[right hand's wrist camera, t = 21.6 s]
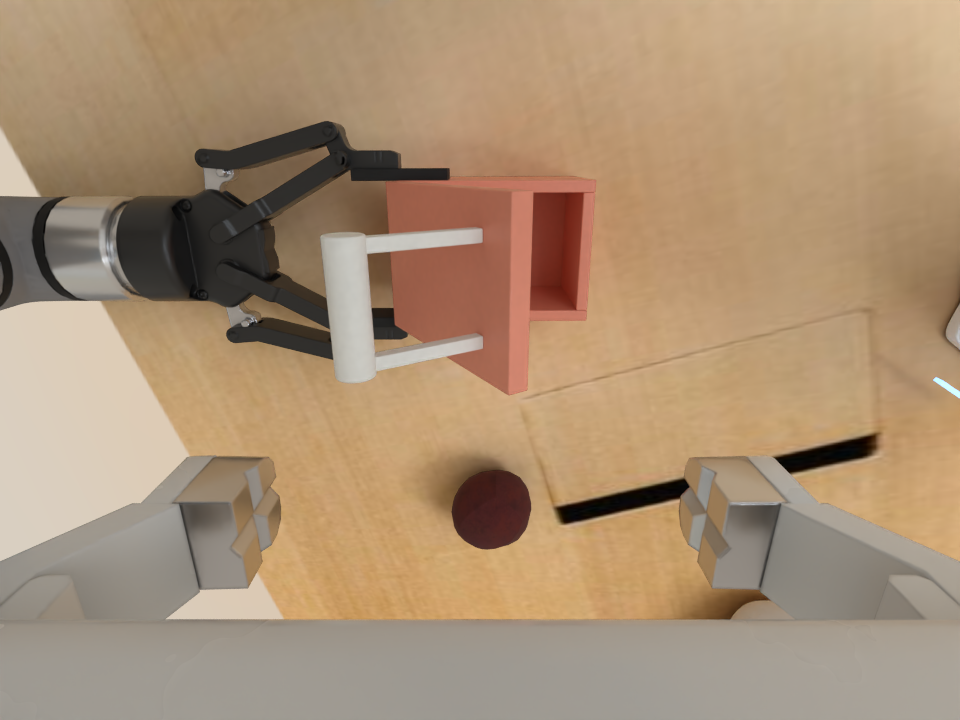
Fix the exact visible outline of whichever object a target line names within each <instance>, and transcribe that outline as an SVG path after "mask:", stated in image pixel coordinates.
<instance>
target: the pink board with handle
mask: <svg viewBox="0 0 960 720" xmlns="http://www.w3.org/2000/svg"><path fill="white" fill-rule="evenodd" d="M386 194H387V210H388V225H389V234H379V235H366V236H365V234H363V233H359V232H336V233H327V234H323V235H321V236H320V242H321V251H322V260H323V270H324V279H325V288H326V297H327V306H328V315H329V324H330V333H331V342H332V351H333V360H334V369H335V377H336V379H337V380H338V381H340V382H343V383H361V382H365V381H368V380H371V379H373V378H374V377H375V376H376V374H377V371H380V370H385V369H389V368H394V367H399V366H404V365H408V364H413V363H418V362H423V361H427V360H432V359H437V358H441V357H447V358H449V359H451V360H452V361H454V362H456V363H457V364H459V365H460V366H462V367H464V368H465V369H467V370H468V371H470V372H472V373H473V374H475V375H477V376H478V377H480V378H481V379H483V380H485V381H486V382H488V383H489V384H491V385H493V386H494V387H496V388H498V389H499V390H501V391H502V392H504V393H506V394H507V395H512V394H515V393H519V392H523V391H526V390H527V385H528V352H529V319H530V286H531V253H532V220H533V191H532V190H520V189H506V188H492V187H478V186H463V185H449V184H435V183H421V182H407V181H387V182H386ZM383 252H390V256H391V272H392V288H393V303H394V319H395V325H396V326H397V327H399V328H401V329H402V330H404V331H405V332H407V333H409V334H410V335H412V336H414V337H415V338H417V339H418V340H420V341H422V342H423V343H422V344H417V345H412V346H407V347H401V348H396V349H391V350H386V351H381V352H376V353H375V346H374V333H373V321H372V308H371V296H370V283H369V271H368V258H367V254H372V253H383Z"/></svg>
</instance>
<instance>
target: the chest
mask: <svg viewBox="0 0 960 720" xmlns="http://www.w3.org/2000/svg"><path fill="white" fill-rule="evenodd" d="M398 181H407V182H421V183H435V184H449V185H463V186H478V187H492V188H506V189H520V190H532V191H533V220H532V253H531V286H530V319H529V321H585V320H586V315H587V301H588V286H589V272H590V258H591V244H592V229H593V215H594V201H595V193H594V192H595V188H596V180H592V179H586V178H581V177H575V176H548V177H450V179H449V180H398Z"/></svg>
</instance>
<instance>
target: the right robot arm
mask: <svg viewBox="0 0 960 720" xmlns="http://www.w3.org/2000/svg"><path fill="white" fill-rule="evenodd" d="M946 337H947V339H948V340H949V341H950V342H951V343H952V344H953V345H955V346H956V347H957V348H958V349H959V350H960V304H959V306H958V307H957V309H956V311H955V312H954V314H953V316H952V318H951V320H950V322H949V324H948V326H947V329H946ZM934 381H935V382H937V383H938V384H940V385H941V386H943V387H944V388H946V389H947V390H948V391H950V392H951V393H953V394H954V395H956V396H957V397H959V398H960V392H959V391H957V390H956V389H954V388H953V387H951V386H950V385H948V384H947V383H946V382H944V381H943V380H941V379H938V378H935V379H934ZM275 478H276V473H275V468H274V463H273V461H272V460H271V459H270V458H269V457H249V456H191V457H187V458H186V459H185V460H184V461H183V462H182V463H181V464H180V465H179V466H178V467H177V468H176V469H175V470H174V471H173V472H172V473H171V474H170V475H169V476H168V477H167V478H166V479H165V480H164V481H163V482H162V483H161V484H160V485H159V486H158V487H157V488H156V489H155V490H154V491H153V492H152V493H151V494H150V495H149V496H148V497H147V498H146V499H145V500H144V501H143V502H142V503H133V504H130V505H128V506H125V507H123V508H121V509H118V510H116V511H114V512H112V513H109V514H107V515H105V516H102V517H100V518H98V519H96V520H93V521H91V522H89V523H87V524H84V525H82V526H80V527H77V528H75V529H73V530H71V531H68V532H66V533H64V534H62V535H59V536H57V537H55V538H52V539H50V540H48V541H46V542H43V543H41V544H39V545H36V546H34V547H32V548H30V549H28V550H25V551H23V552H21V553H18V554H16V555H14V556H12V557H9V558H7V559H5V560H2V561H0V720H960V561H957V560H955V559H953V558H950V557H948V556H946V555H944V554H941V553H939V552H937V551H935V550H932V549H930V548H928V547H926V546H923V545H921V544H919V543H916V542H914V541H912V540H910V539H907V538H905V537H903V536H901V535H898V534H896V533H894V532H891V531H889V530H887V529H885V528H882V527H880V526H878V525H876V524H873V523H871V522H869V521H867V520H864V519H862V518H860V517H857V516H855V515H853V514H851V513H848V512H846V511H844V510H842V509H839V508H837V507H835V506H833V505H830V504H828V503H818V502H817V501H816V500H815V499H814V498H813V497H812V496H811V495H810V494H809V493H808V492H807V491H806V490H805V489H804V488H803V487H802V486H801V485H800V484H799V483H798V482H797V481H796V480H795V479H794V478H793V477H792V476H791V475H790V474H789V473H788V472H787V471H786V470H785V469H784V468H783V467H782V466H781V465H780V464H779V463H778V462H777V461H776V460H775V459H774V458H773V457H770V456H767V455H762V456H731V457H694V458H689V459H688V462H687V464H686V467H685V473H684V478H685V479H686V481H687V482H688V484H689V486H690V487H689V488H688V489H687V490H686V491H685V492H684V493H683V494H682V495H681V498H680V506H679V517H680V526H681V529H682V533H683V536H684V538H685V540H686V541H687V543H688V545H689V546H691V547H692V548H694V549H695V550H697V551H698V552H699V555H698V561H697V562H698V564H699V565H700V567H701V569H702V571H703V573H704V574H705V576H706V578H707V580H708V582H709V583H710V585H711V587H712V588H717V589H754V590H760V592H761V593H762V594H763V595H765V596H766V597H767V598H769V599H770V600H771V601H772V602H774V603H775V604H776V605H778V606H779V607H780V608H781V609H783V610H784V611H785V612H786V613H788V614H789V615H790V616H792V617H793V618H794V619H623V620H340V619H339V620H338V619H279V620H278V619H277V620H276V619H275V620H274V619H273V620H271V619H265V620H262V619H261V620H259V619H258V620H257V619H256V620H255V619H253V620H252V619H251V620H250V619H247V620H246V619H241V620H240V619H239V620H238V619H236V620H235V619H231V620H230V619H226V620H225V619H221V620H220V619H219V620H218V619H208V620H207V619H203V620H202V619H201V620H199V619H195V620H193V619H190V620H189V619H185V620H183V619H179V620H178V619H175V620H173V619H166V618H167V617H169V616H170V615H171V614H172V613H174V612H175V611H176V610H178V609H179V608H180V607H181V606H183V605H184V604H185V603H187V602H188V601H189V600H190V599H192V598H193V597H194V596H195V595H197V594H198V593H199V592H200V590H206V589H241V588H248V587H249V585H250V584H251V582H252V580H253V578H254V576H255V574H256V573H257V571H258V569H259V567H260V565H261V564H262V562H263V561H262V555H261V552H262V551H263V550H265V549H266V548H268V547H269V546H271V545H272V543H273V541H274V539H275V537H276V536H277V533H278V529H279V525H280V520H281V504H280V498H279V495H278V494H277V493H276V492H275V491H274V490H273V489H272V488H271V487H270V486H271V484H272V482H273V481H274V479H275Z"/></svg>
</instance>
